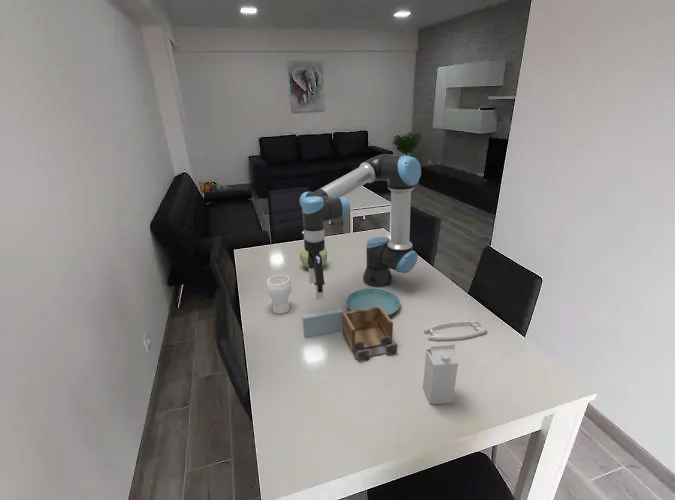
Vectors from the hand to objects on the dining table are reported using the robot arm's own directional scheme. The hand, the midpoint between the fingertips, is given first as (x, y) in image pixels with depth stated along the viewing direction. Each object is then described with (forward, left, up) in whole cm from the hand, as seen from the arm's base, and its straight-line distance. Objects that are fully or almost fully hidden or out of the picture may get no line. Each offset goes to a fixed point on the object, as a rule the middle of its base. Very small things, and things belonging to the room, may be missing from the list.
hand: (316, 290), depth 137 cm
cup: (+12, -20, -18) cm, 30 cm away
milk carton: (-28, +46, -18) cm, 56 cm away
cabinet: (-17, +15, -18) cm, 29 cm away
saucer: (-28, -9, -19) cm, 35 cm away
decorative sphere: (-12, -59, -18) cm, 63 cm away
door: (-2, +3, -18) cm, 18 cm away
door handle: (-52, +19, -19) cm, 58 cm away
